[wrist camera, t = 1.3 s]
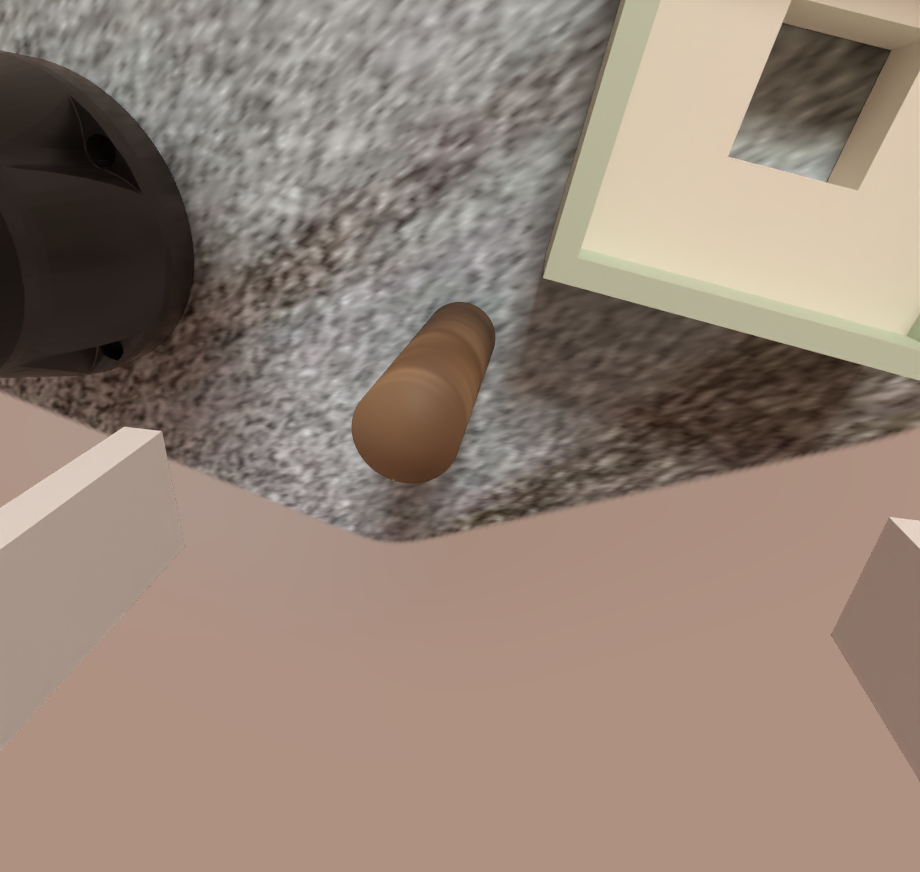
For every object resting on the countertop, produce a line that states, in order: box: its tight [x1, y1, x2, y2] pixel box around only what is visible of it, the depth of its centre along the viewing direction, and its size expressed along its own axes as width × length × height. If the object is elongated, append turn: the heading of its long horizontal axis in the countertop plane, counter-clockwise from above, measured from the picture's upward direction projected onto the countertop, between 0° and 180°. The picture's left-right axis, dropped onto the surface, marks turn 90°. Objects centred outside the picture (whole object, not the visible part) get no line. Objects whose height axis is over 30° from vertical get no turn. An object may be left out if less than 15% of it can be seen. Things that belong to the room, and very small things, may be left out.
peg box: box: [543, 0, 920, 380], centre depth 20 cm, size 16×16×6 cm
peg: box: [352, 302, 495, 483], centre depth 24 cm, size 4×4×12 cm
